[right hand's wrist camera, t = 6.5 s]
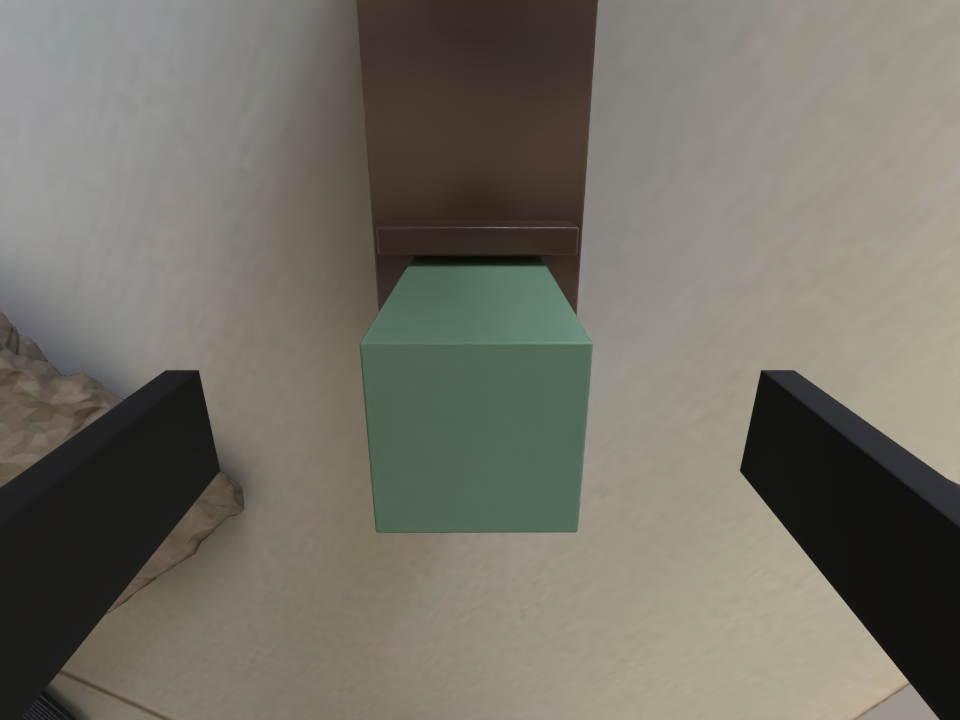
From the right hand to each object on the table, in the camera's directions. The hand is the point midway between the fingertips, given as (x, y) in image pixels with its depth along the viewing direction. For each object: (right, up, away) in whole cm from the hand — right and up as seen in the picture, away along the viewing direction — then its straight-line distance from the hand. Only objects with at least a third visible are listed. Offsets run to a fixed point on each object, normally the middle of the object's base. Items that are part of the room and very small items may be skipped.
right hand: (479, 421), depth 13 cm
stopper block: (0, +3, +9) cm, 9 cm away
